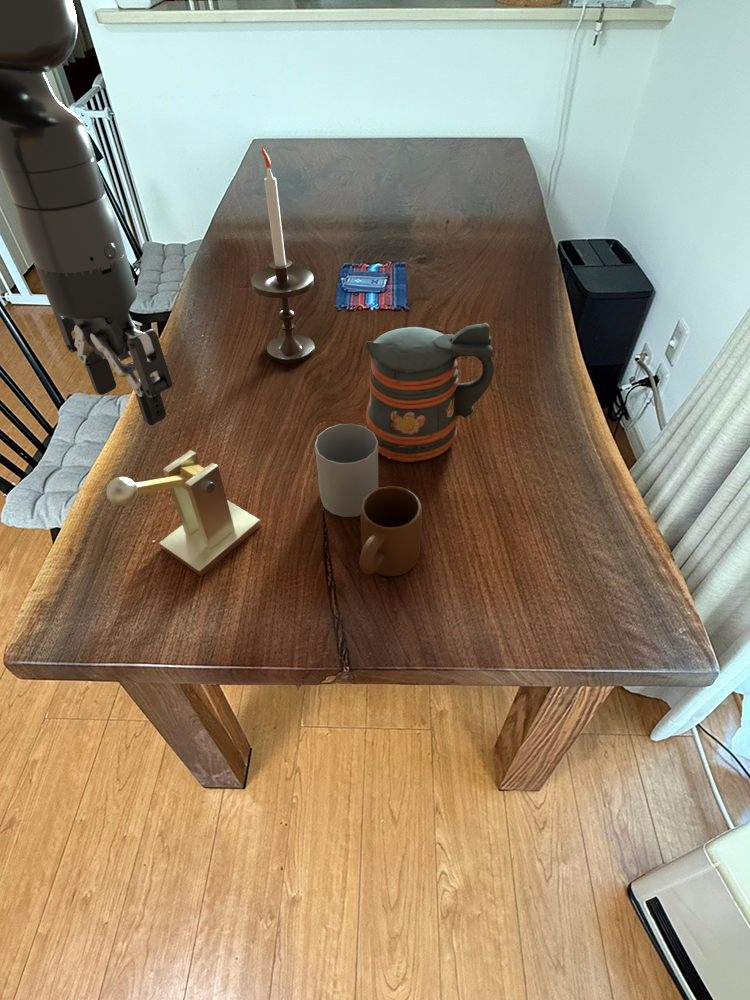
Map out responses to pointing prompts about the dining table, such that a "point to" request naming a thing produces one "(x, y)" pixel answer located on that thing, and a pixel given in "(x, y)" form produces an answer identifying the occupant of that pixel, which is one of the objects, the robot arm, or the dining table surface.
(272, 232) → the candlestick
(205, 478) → the switch bracket
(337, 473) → the cup
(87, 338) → the robot arm
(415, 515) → the mug
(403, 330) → the beer stein
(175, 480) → the switch lever
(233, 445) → the dining table surface
